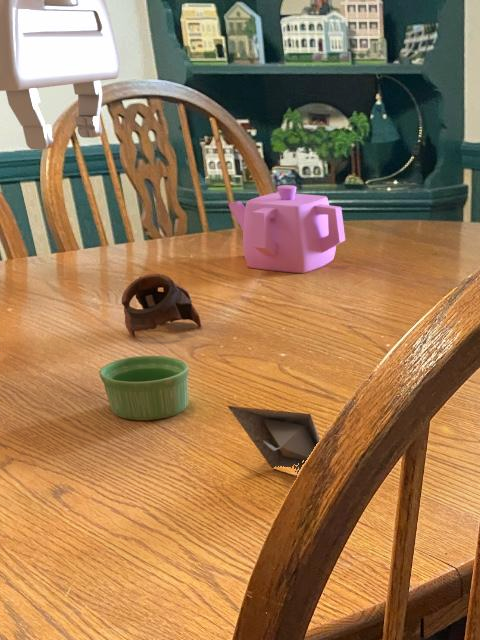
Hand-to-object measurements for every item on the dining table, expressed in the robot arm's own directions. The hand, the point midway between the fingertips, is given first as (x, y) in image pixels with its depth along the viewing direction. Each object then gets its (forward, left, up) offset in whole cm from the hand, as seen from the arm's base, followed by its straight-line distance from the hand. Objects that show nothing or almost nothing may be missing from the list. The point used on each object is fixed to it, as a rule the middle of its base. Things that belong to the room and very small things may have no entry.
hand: (67, 142), depth 83 cm
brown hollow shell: (+3, +31, -26) cm, 40 cm away
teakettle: (+23, +70, -26) cm, 78 cm away
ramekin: (+3, +1, -26) cm, 26 cm away
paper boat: (+16, -18, -26) cm, 36 cm away
